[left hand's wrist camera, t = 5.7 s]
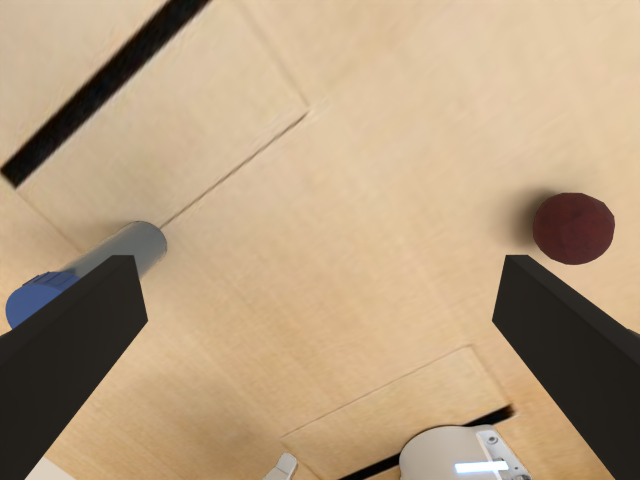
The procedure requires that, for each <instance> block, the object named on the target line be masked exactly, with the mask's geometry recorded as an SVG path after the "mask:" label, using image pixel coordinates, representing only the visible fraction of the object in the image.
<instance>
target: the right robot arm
mask: <svg viewBox="0 0 640 480" xmlns="http://www.w3.org/2000/svg"><path fill="white" fill-rule="evenodd" d="M399 466H400V470H401V477H400V480H533V479H532V477H531V475H530V473H529V472H528V471H527V469H526V468H525V467H524V465H523V464H522V463H521V462H520V460H519V459H518V458H517V456H516V455H515V454H514V453H513V451H512V450H511V449H510V447H509V446H508V445H507V444H506V442H505V441H504V440H503V438H502V437H501V436H500V435H499V433H498V432H497V431H496V429H495V428H494V427H493V426H492V425H479V426H474V427H461V426H444V427H438V428H434V429H430V430H428V431H425V432H423V433H421V434H419V435H417V436H416V437H414V438H413V439H412V440H411V441H409V442H408V443H407V445H406V446H405V447H404V449H403V450H402V452H401V455H400V458H399ZM297 469H298V463H297V460H296V458H295V457H294V456H292V455H291V454H289V453H287V452H285V453H283V454H282V455H281V457H280V459H279V461H278V462H277V464H276V466H275V467H274V468H273V469H272V470H271V471H270V472H269V473H268V474H267V475H266V476H265V477H264V478H263V479H262V480H289V479H290V480H292V478H293V476H294V474H295V472H296V470H297Z"/></svg>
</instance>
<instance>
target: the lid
mask: <svg viewBox="0 0 640 480" xmlns="http://www.w3.org/2000/svg"><path fill="white" fill-rule="evenodd" d="M79 279H81V278H80V277H78V276H76V275H73V274H70V273H66V272H61V271H60V272H47V273H44V274H42V275H40V276H39V275H37V276H36V277H34V278H33V279H31V280H29V281H28V282H26V283H25V284H23V285H22V287H20V288H19V289H17V290H16V291H14V292H13V293H12V294H11V295H10V297H9V298H8V300H7V303H6V317H7V320H8V323H9V325H10V326H11V328H12V329H14V328H15V327H16V326H18V325H19V324H20V323H22V322H23V321H24V320H26V319H27V318H28V317H30V316H31V315H32V314H34V313H35V312H36V311H38V310H39V309H40V308H42V307H43V306H45V305H46V304H47V303H49V302H50V301H51V300H53V299H54V298H55V297H57V296H58V295H59V294H61V293H62V292H63V291H65V290H66V289H67V288H69V287H70V286H71V285H73V284H74V283H75V282H77V281H78V280H79Z"/></svg>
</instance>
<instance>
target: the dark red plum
mask: <svg viewBox="0 0 640 480" xmlns="http://www.w3.org/2000/svg"><path fill="white" fill-rule="evenodd" d="M614 228H615V221H614V216H613V214H612V213H611V212H610V210H609V209H608V208H607V206H606V205H605V204H604V203H603V202H601V201H599V200H597V199H595V198H593V197H590V196H588V195H585V194H583V193H561V194H558V195H556V196H553V197H551V198H549V199H548V200H547V201H545V202H544V203H543V204H542V205H541V207H540V208H539V210H538V211H537V213H536V217H535V220H534V224H533V236H534V240H535V242H536V243H537V245H538V247H539V248H540V250H541V251H543V252H544V253H545V254H546V255H547V256H548V257H549V258H551V259H553V260H555V261H558V262H561V263H564V264H568V265H580V264H584V263H588V262H590V261H593V260H595V259H597V258H598V257H599V256H601V255H602V254H603V253H604V252H605V251H606V250H607V249H608V248H609V246H610V244H611V242H612V239H613V233H614Z"/></svg>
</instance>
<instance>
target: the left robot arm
mask: <svg viewBox="0 0 640 480" xmlns="http://www.w3.org/2000/svg"><path fill="white" fill-rule="evenodd" d="M147 322H148V318H147V313H146V308H145V304H144V299H143V294H142V290H141V285H140V280H139V276H138V271H137V266H136V261H135V257H134V255H112V256H110V257H109V258H108V259H106V260H105V261H104V262H102V263H101V264H100V265H98V266H97V267H96V268H94V269H93V270H91V271H90V272H89V273H87V274H86V275H85V276H83V277H82V278H81V279H79V280H78V281H77V282H75V283H74V284H73V285H71V286H70V287H69V288H67V289H66V290H65V291H63V292H62V293H61V294H59V295H58V296H57V297H55V298H54V299H53V300H51V301H50V302H49V303H47V304H46V305H45V306H43V307H42V308H40V309H39V310H38V311H36V312H35V313H34V314H32V315H31V316H30V317H28V318H27V319H26V320H24V321H23V322H22V323H20V324H19V325H18V326H16V327H15V328H14V329H12V330H11V331H9V332H7V333H5V334H3V335H1V336H0V480H25V478H26V477H27V476H28V474H29V473H30V472H31V471H32V469H33V468H34V467H35V465H36V464H37V463H38V462H39V460H40V459H41V458H42V457H43V455H44V454H45V453H46V451H47V450H48V449H49V448H50V446H51V445H52V444H53V442H54V441H55V440H56V439H57V437H58V436H59V435H60V433H61V432H62V431H63V430H64V428H65V427H66V426H67V424H68V423H69V422H70V421H71V419H72V418H73V417H74V415H75V414H76V413H77V412H78V410H79V409H80V408H81V406H82V405H83V404H84V403H85V401H86V400H87V399H88V397H89V396H90V395H91V394H92V392H93V391H94V390H95V388H96V387H97V386H98V385H99V383H100V382H101V381H102V380H103V378H104V377H105V376H106V374H107V373H108V372H109V371H110V369H111V368H112V367H113V365H114V364H115V363H116V362H117V360H118V359H119V358H120V356H121V355H122V354H123V353H124V351H125V350H126V349H127V347H128V346H129V345H130V344H131V342H132V341H133V340H134V338H135V337H136V336H137V335H138V333H139V332H140V331H141V329H142V328H143V327H144V326H145V324H146V323H147ZM492 322H493V323H494V324H495V326H496V327H497V328H498V329H499V331H500V332H501V333H502V335H503V336H504V337H505V338H506V340H507V341H508V342H509V344H510V345H511V346H512V347H513V349H514V350H515V351H516V353H517V354H518V355H519V356H520V358H521V359H522V360H523V362H524V363H525V364H526V365H527V367H528V368H529V369H530V371H531V372H532V373H533V374H534V376H535V377H536V378H537V380H538V381H539V382H540V383H541V385H542V386H543V387H544V388H545V390H546V391H547V392H548V394H549V395H550V396H551V397H552V399H553V400H554V401H555V403H556V404H557V405H558V406H559V408H560V409H561V410H562V412H563V413H564V414H565V415H566V417H567V418H568V419H569V421H570V422H571V423H572V424H573V426H574V427H575V428H576V430H577V431H578V432H579V433H580V435H581V436H582V437H583V439H584V440H585V441H586V442H587V444H588V445H589V446H590V448H591V449H592V450H593V451H594V453H595V454H596V455H597V457H598V458H599V459H600V460H601V462H602V463H603V464H604V466H605V467H606V468H607V469H608V471H609V472H610V473H611V475H612V476H613V477H614V478H615V480H640V334H638V333H636V332H634V331H632V330H630V329H626V328H625V327H624V326H622V325H621V324H620V323H618V322H617V321H616V320H614V319H613V318H612V317H610V316H609V315H608V314H606V313H605V312H604V311H602V310H601V309H600V308H598V307H597V306H595V305H594V304H593V303H591V302H590V301H589V300H587V299H586V298H585V297H583V296H582V295H581V294H579V293H578V292H577V291H575V290H574V289H573V288H571V287H570V286H569V285H567V284H566V283H565V282H563V281H562V280H561V279H559V278H558V277H557V276H555V275H554V274H553V273H551V272H550V271H549V270H547V269H546V268H544V267H543V266H542V265H540V264H539V263H538V262H536V261H535V260H534V259H532V258H531V257H530V256H528V255H506V257H505V261H504V266H503V271H502V276H501V280H500V285H499V290H498V294H497V299H496V304H495V308H494V313H493V318H492Z"/></svg>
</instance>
